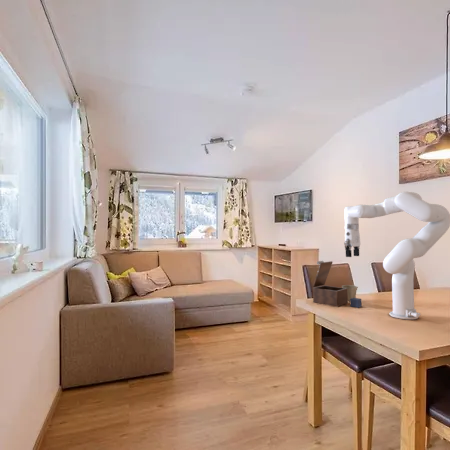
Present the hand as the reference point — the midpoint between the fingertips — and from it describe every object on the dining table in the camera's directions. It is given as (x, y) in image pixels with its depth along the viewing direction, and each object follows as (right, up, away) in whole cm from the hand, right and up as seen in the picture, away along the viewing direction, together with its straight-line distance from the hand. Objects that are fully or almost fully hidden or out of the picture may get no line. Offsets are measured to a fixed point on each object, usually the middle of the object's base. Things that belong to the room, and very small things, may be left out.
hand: (352, 256), depth 177 cm
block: (+1, -29, -2) cm, 29 cm away
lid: (-13, -13, +12) cm, 22 cm away
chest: (-10, -29, +8) cm, 32 cm away
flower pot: (+5, -30, +15) cm, 33 cm away
